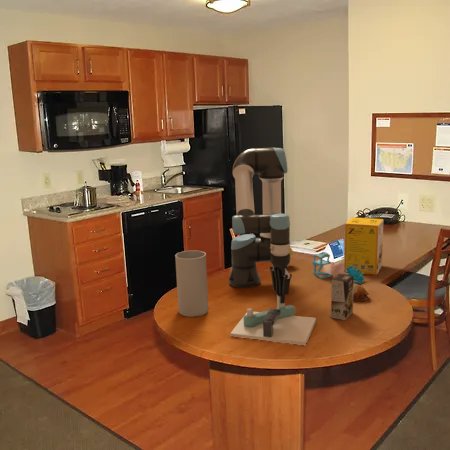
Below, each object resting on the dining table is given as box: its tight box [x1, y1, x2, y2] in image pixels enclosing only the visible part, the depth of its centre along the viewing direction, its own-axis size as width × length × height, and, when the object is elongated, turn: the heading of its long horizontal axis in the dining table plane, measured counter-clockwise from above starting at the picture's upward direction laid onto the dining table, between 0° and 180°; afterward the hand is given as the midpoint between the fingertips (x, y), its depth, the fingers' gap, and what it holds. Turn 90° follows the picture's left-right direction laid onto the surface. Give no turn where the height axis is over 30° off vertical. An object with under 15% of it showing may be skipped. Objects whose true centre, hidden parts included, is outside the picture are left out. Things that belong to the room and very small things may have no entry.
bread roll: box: [353, 283, 370, 303], centre depth 223 cm, size 10×10×8 cm
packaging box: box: [343, 216, 384, 276], centre depth 261 cm, size 16×16×25 cm
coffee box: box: [330, 273, 355, 321], centre depth 204 cm, size 9×6×16 cm
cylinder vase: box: [174, 250, 209, 318], centre depth 212 cm, size 12×12×25 cm
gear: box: [345, 266, 365, 286], centre depth 244 cm, size 11×6×10 cm
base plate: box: [230, 311, 317, 347], centre depth 195 cm, size 28×22×2 cm
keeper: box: [263, 308, 281, 337], centre depth 190 cm, size 4×12×6 cm, turn 161°
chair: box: [311, 252, 333, 280], centre depth 254 cm, size 8×8×12 cm
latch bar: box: [243, 304, 296, 327], centre depth 199 cm, size 22×5×6 cm, turn 119°
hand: (280, 309), depth 205 cm, fingers closed
